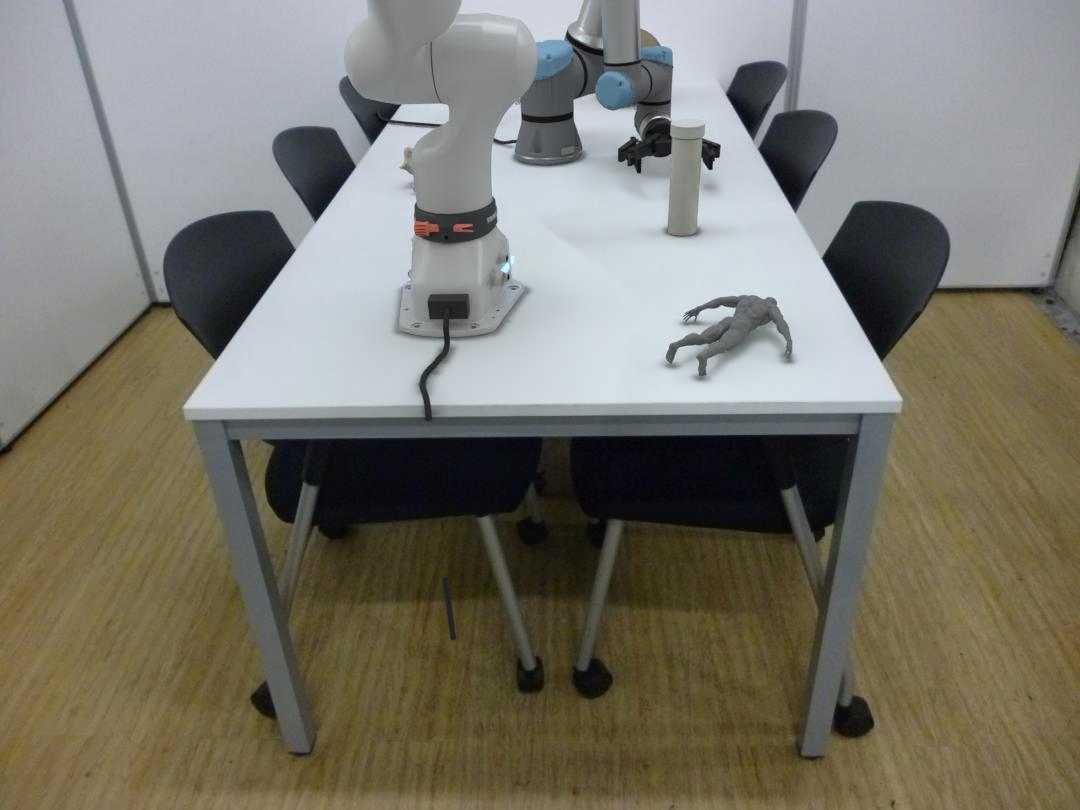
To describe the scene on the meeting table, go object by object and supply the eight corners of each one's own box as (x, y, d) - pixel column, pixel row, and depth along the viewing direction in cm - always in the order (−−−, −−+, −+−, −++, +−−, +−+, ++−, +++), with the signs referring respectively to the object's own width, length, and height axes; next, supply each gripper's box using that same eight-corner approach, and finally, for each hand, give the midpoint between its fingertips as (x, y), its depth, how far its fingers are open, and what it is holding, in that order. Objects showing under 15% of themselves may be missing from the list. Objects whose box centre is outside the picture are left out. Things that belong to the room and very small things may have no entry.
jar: (686, 223, 149) (692, 120, 140) (702, 232, 145) (709, 126, 136) (662, 228, 148) (666, 124, 138) (677, 238, 144) (683, 131, 134)
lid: (692, 128, 141) (693, 116, 140) (711, 136, 136) (712, 124, 135) (663, 133, 139) (664, 121, 138) (682, 141, 135) (682, 129, 133)
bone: (420, 170, 164) (410, 138, 170) (401, 193, 168) (392, 160, 173) (460, 189, 171) (449, 158, 177) (441, 211, 175) (432, 179, 180)
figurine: (740, 398, 101) (827, 332, 111) (741, 369, 98) (830, 304, 109) (633, 353, 111) (722, 297, 122) (633, 326, 108) (724, 270, 119)
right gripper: (717, 150, 178) (739, 181, 160) (600, 155, 178) (609, 187, 160) (719, 114, 174) (742, 141, 156) (600, 119, 174) (609, 147, 156)
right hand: (675, 164), depth 158 cm, fingers open, 13 cm apart
